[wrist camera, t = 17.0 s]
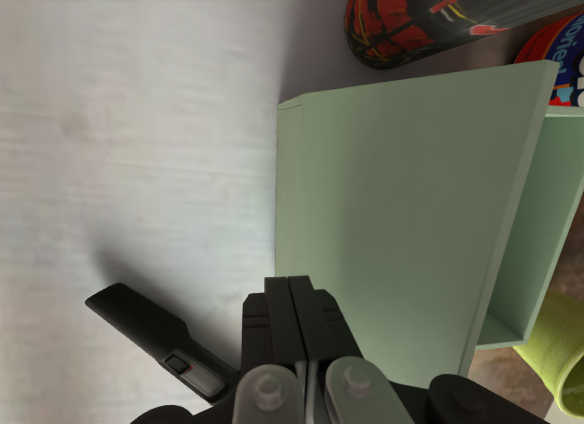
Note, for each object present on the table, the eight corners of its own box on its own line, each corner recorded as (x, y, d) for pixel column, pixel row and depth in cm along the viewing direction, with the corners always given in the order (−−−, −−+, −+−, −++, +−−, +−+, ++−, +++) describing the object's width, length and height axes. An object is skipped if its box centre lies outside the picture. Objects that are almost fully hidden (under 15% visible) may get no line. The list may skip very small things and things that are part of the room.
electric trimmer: (127, 261, 22) (107, 284, 19) (253, 372, 27) (253, 403, 24) (90, 289, 22) (65, 316, 19) (222, 393, 27) (219, 427, 24)
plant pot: (538, 244, 27) (662, 299, 19) (562, 304, 30) (677, 373, 22) (457, 300, 28) (543, 375, 20) (489, 353, 31) (575, 436, 23)
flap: (297, 379, 14) (290, 382, 14) (311, 93, 10) (301, 93, 10) (408, 574, 8) (399, 583, 8) (562, 61, 4) (549, 58, 4)
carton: (275, 277, 24) (291, 370, 15) (277, 104, 20) (302, 93, 11) (432, 268, 26) (526, 344, 17) (465, 112, 22) (614, 108, 13)
